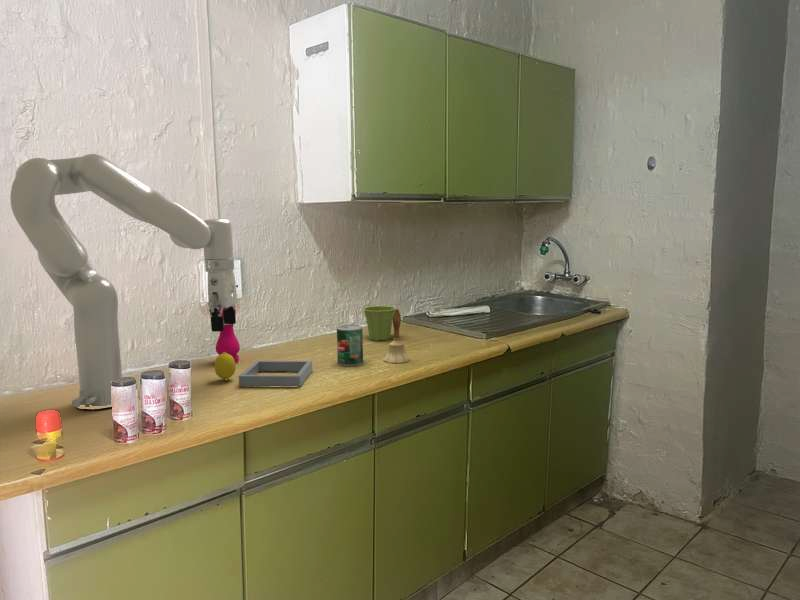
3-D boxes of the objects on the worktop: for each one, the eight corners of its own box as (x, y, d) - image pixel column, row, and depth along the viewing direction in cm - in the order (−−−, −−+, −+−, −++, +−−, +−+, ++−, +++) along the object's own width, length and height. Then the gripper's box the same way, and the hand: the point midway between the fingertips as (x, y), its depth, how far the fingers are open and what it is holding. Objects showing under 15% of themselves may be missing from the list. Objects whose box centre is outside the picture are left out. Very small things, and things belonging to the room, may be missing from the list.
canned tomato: (368, 361, 189) (367, 326, 188) (353, 367, 183) (352, 330, 181) (347, 358, 193) (346, 323, 192) (332, 363, 187) (331, 328, 185)
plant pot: (399, 336, 224) (399, 305, 223) (391, 343, 213) (390, 311, 211) (368, 335, 227) (368, 305, 226) (358, 341, 216) (358, 310, 214)
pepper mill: (216, 365, 186) (212, 300, 183) (216, 360, 193) (212, 297, 190) (240, 363, 188) (237, 299, 185) (240, 358, 195) (237, 295, 192)
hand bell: (389, 356, 195) (389, 306, 193) (414, 358, 192) (413, 308, 190) (378, 362, 188) (378, 310, 185) (404, 364, 185) (403, 312, 182)
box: (300, 387, 163) (299, 376, 162) (239, 387, 164) (238, 376, 163) (312, 370, 179) (312, 360, 178) (256, 370, 180) (256, 360, 179)
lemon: (228, 376, 174) (226, 349, 173) (240, 379, 170) (238, 351, 169) (211, 381, 170) (209, 352, 169) (223, 384, 166) (221, 355, 165)
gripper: (222, 268, 157) (227, 334, 159) (243, 261, 174) (247, 321, 176) (193, 269, 157) (198, 334, 160) (217, 262, 174) (221, 321, 177)
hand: (224, 327), depth 168 cm, fingers open, 9 cm apart
